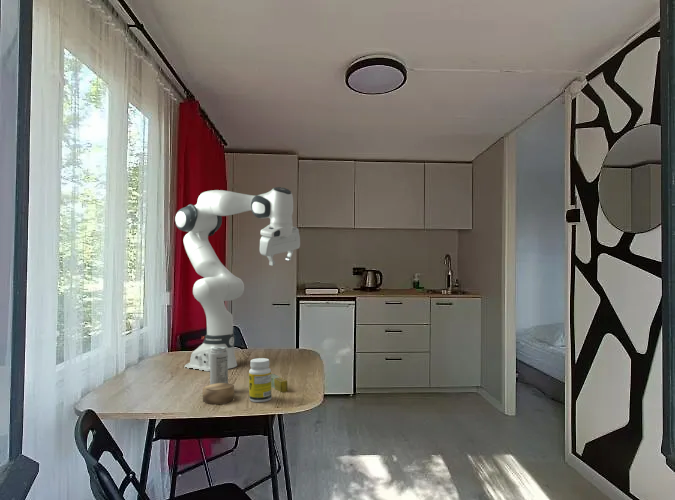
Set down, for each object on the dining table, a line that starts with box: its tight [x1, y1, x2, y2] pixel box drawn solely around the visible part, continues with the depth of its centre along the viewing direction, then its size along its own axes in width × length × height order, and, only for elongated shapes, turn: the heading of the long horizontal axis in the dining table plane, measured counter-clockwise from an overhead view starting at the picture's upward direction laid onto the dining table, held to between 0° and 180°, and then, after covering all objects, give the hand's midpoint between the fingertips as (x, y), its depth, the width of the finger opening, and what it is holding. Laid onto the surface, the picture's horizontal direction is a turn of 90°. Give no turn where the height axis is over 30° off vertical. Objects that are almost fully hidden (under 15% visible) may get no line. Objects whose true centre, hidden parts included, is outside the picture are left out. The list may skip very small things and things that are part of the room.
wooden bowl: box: [202, 382, 235, 405], centre depth 155 cm, size 10×10×4 cm
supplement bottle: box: [248, 357, 273, 403], centre depth 154 cm, size 7×7×13 cm
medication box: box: [271, 373, 289, 393], centre depth 168 cm, size 12×3×4 cm, turn 31°
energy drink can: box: [209, 347, 229, 385], centre depth 165 cm, size 6×6×15 cm
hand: (280, 262), depth 190 cm, fingers open, 8 cm apart
